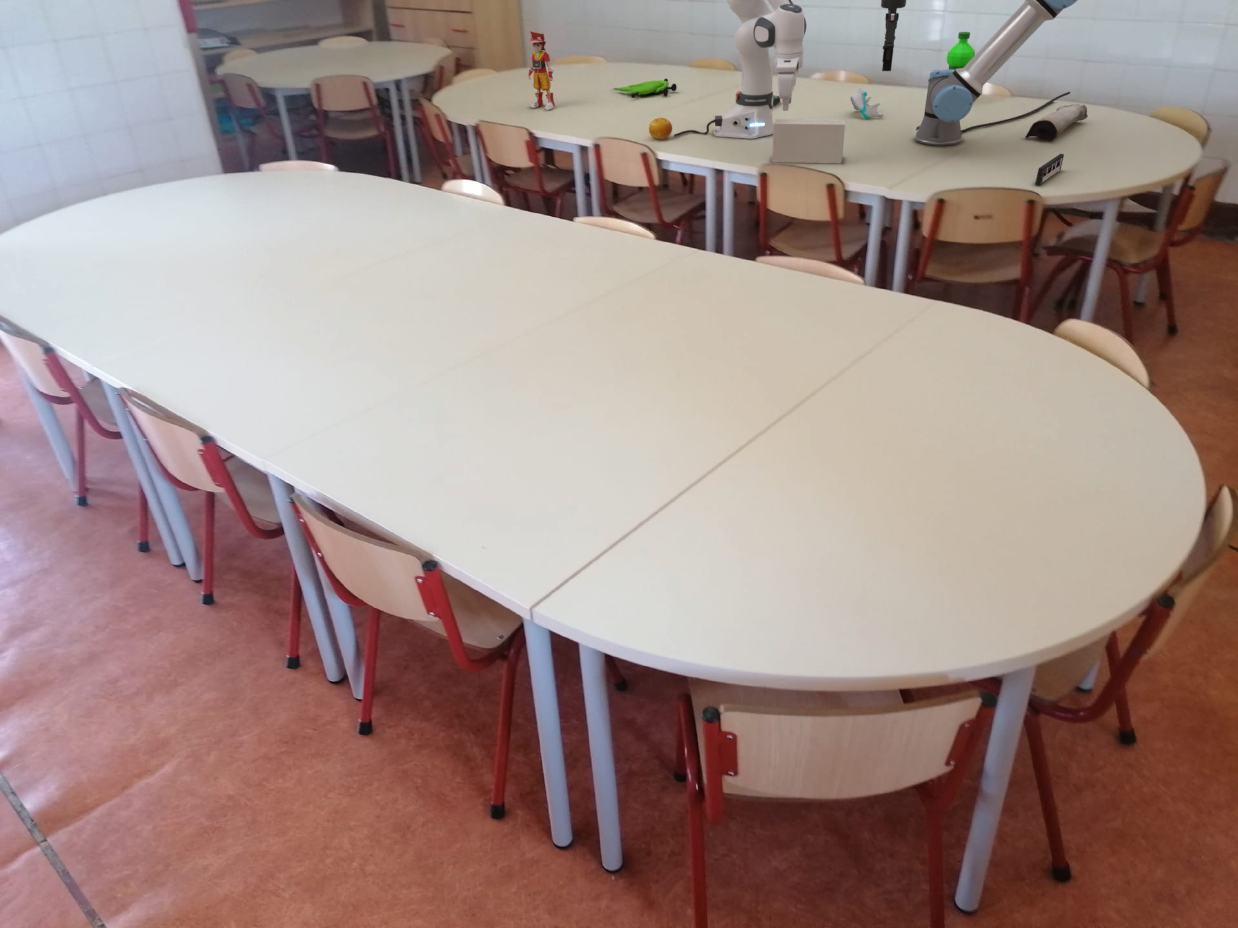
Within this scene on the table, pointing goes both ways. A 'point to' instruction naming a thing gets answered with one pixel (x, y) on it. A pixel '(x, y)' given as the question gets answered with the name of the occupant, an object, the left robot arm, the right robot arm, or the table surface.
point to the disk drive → (776, 100)
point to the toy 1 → (541, 71)
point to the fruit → (660, 128)
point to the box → (808, 140)
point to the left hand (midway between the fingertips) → (787, 107)
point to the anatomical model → (865, 105)
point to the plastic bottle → (960, 52)
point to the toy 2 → (648, 88)
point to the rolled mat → (1057, 122)
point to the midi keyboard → (1049, 169)
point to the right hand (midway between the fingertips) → (886, 66)
